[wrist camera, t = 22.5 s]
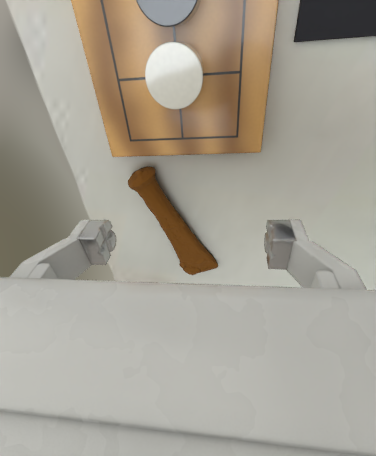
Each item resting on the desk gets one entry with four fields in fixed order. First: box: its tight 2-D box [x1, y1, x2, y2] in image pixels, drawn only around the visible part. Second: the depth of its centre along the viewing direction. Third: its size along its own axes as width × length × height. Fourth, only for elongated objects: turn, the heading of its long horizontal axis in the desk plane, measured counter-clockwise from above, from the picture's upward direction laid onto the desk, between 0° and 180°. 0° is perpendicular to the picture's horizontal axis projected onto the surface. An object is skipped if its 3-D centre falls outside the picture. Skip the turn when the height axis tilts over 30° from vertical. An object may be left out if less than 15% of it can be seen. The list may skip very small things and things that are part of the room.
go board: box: [71, 0, 278, 157], centre depth 21 cm, size 16×20×2 cm
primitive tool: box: [128, 167, 218, 275], centre depth 33 cm, size 19×6×4 cm, turn 27°
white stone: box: [145, 41, 204, 109], centre depth 21 cm, size 5×5×3 cm
